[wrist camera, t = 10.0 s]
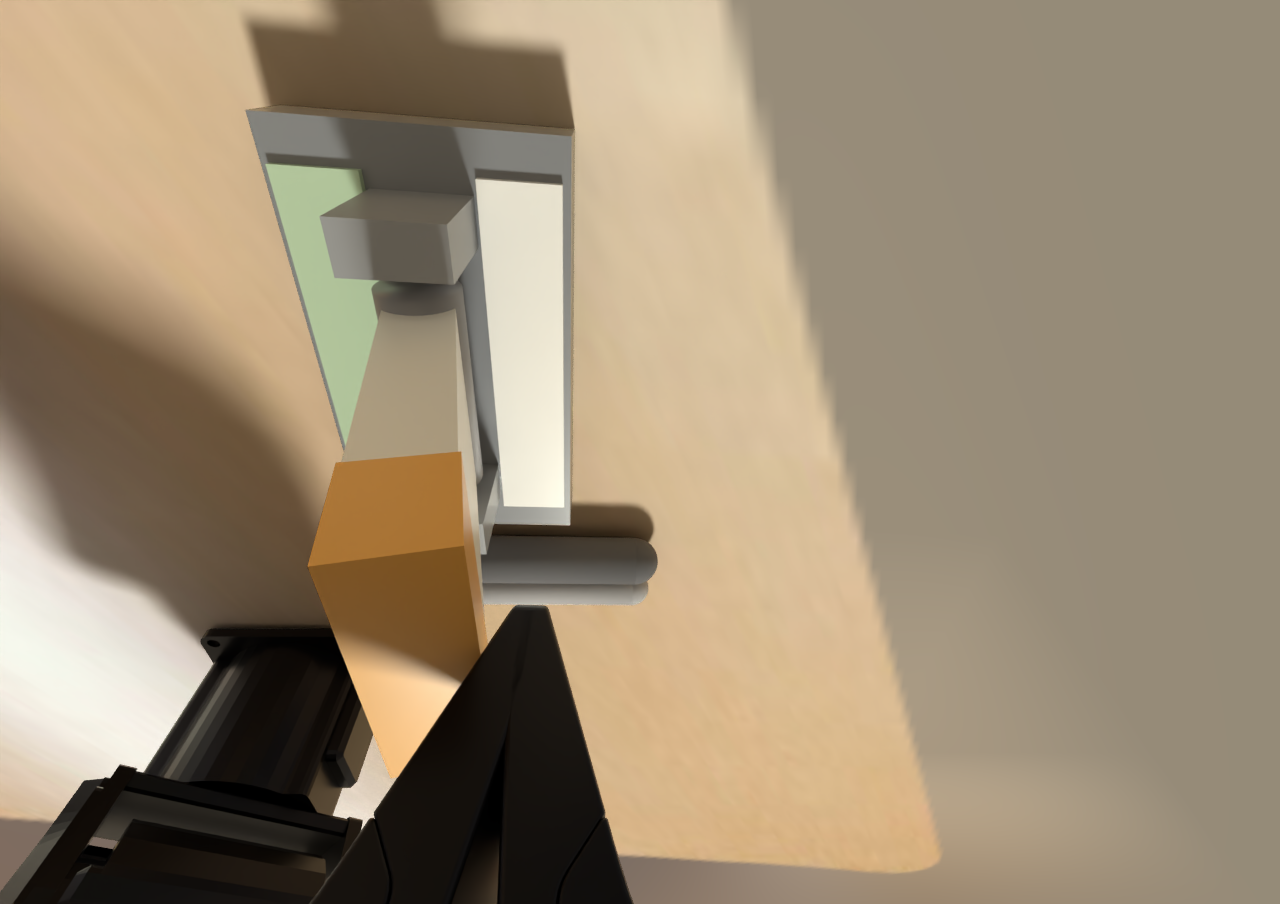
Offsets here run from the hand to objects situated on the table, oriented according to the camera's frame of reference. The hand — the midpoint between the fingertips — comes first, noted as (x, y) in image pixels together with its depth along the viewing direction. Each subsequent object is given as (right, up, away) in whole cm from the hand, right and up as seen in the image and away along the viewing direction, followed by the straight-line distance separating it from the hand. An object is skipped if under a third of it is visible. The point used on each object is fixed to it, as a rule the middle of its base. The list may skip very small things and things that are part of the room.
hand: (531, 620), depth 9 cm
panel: (-4, +6, +8) cm, 11 cm away
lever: (-4, +5, +6) cm, 9 cm away
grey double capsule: (-4, -2, +14) cm, 14 cm away
